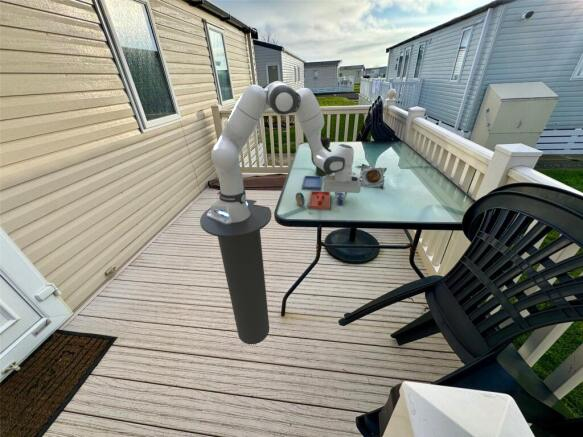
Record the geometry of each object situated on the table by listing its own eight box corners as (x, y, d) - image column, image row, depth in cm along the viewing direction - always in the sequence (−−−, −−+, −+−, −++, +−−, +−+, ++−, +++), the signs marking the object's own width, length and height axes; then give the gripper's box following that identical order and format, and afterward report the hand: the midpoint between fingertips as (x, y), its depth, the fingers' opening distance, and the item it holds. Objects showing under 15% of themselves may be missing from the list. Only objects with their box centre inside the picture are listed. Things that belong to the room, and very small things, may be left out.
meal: (383, 186, 155) (387, 166, 148) (382, 189, 151) (386, 168, 144) (359, 183, 159) (362, 163, 153) (358, 185, 156) (361, 166, 149)
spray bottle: (313, 175, 172) (315, 139, 159) (318, 170, 180) (320, 135, 167) (327, 177, 168) (330, 140, 155) (332, 172, 176) (335, 137, 163)
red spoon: (323, 206, 132) (324, 201, 130) (315, 205, 133) (315, 200, 131) (324, 195, 143) (324, 190, 141) (316, 195, 144) (317, 190, 142)
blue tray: (320, 190, 151) (320, 187, 150) (302, 189, 152) (302, 186, 151) (321, 178, 166) (321, 176, 165) (304, 178, 168) (304, 175, 167)
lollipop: (308, 218, 129) (294, 199, 137) (310, 217, 129) (296, 199, 138) (311, 208, 124) (296, 190, 132) (313, 207, 124) (298, 189, 133)
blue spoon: (344, 205, 134) (345, 200, 132) (336, 205, 134) (336, 199, 133) (343, 195, 145) (343, 190, 143) (335, 194, 145) (336, 189, 144)
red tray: (329, 209, 130) (330, 206, 129) (308, 208, 131) (308, 205, 130) (329, 194, 145) (330, 191, 144) (311, 194, 147) (311, 191, 146)
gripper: (323, 177, 128) (321, 200, 136) (362, 178, 126) (359, 202, 133) (323, 172, 134) (321, 195, 141) (361, 174, 131) (358, 197, 138)
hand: (340, 198), depth 137 cm, fingers closed on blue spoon, 2 cm apart
